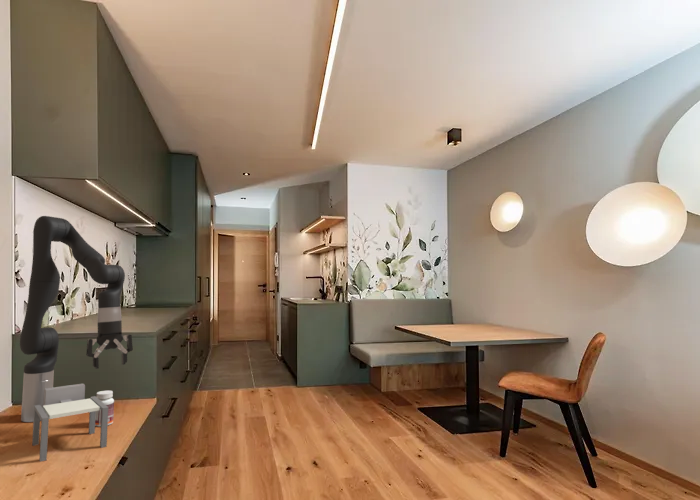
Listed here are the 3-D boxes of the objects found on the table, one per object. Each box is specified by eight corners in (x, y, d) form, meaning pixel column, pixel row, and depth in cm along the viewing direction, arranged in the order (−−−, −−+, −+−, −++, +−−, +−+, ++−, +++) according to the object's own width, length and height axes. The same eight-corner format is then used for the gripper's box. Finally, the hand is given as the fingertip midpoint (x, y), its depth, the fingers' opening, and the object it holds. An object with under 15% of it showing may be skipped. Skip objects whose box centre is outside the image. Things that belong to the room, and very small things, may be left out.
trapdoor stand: (32, 444, 136) (34, 405, 137) (93, 431, 148) (95, 396, 149) (40, 461, 124) (42, 418, 125) (106, 446, 135) (108, 407, 136)
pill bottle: (116, 421, 159) (117, 389, 159) (107, 427, 153) (109, 394, 153) (99, 421, 159) (100, 389, 159) (89, 427, 152) (91, 394, 153)
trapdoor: (40, 404, 141) (40, 389, 142) (85, 397, 150) (86, 382, 150) (49, 419, 127) (50, 401, 128) (99, 410, 136) (100, 394, 136)
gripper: (128, 318, 163) (129, 362, 161) (84, 322, 153) (84, 368, 152) (134, 318, 157) (135, 364, 156) (89, 322, 147) (89, 371, 146)
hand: (110, 366), depth 154 cm, fingers open, 8 cm apart
